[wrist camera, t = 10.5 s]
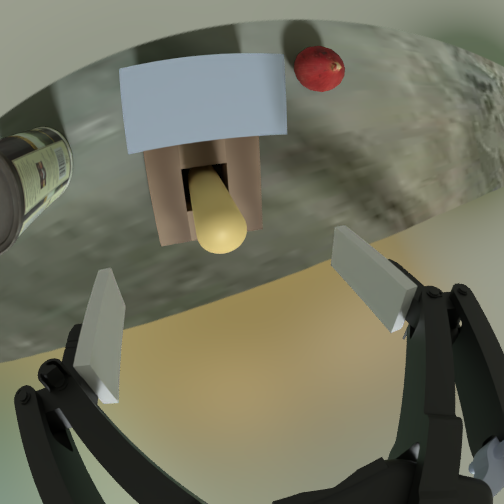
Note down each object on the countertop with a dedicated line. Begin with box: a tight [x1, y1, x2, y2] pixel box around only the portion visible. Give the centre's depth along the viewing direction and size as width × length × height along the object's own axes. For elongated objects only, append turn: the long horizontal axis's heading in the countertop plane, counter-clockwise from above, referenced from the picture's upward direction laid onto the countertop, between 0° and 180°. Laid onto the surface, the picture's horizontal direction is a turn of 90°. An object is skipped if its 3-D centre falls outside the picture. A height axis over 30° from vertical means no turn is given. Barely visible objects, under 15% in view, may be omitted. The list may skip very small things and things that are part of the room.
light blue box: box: [119, 53, 287, 154], centre depth 23 cm, size 12×7×13 cm, turn 93°
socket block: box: [143, 136, 263, 246], centre depth 31 cm, size 12×12×5 cm
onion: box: [294, 46, 345, 92], centre depth 26 cm, size 6×6×8 cm
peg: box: [188, 165, 247, 254], centre depth 26 cm, size 4×4×16 cm
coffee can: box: [0, 127, 73, 255], centre depth 20 cm, size 10×10×14 cm
